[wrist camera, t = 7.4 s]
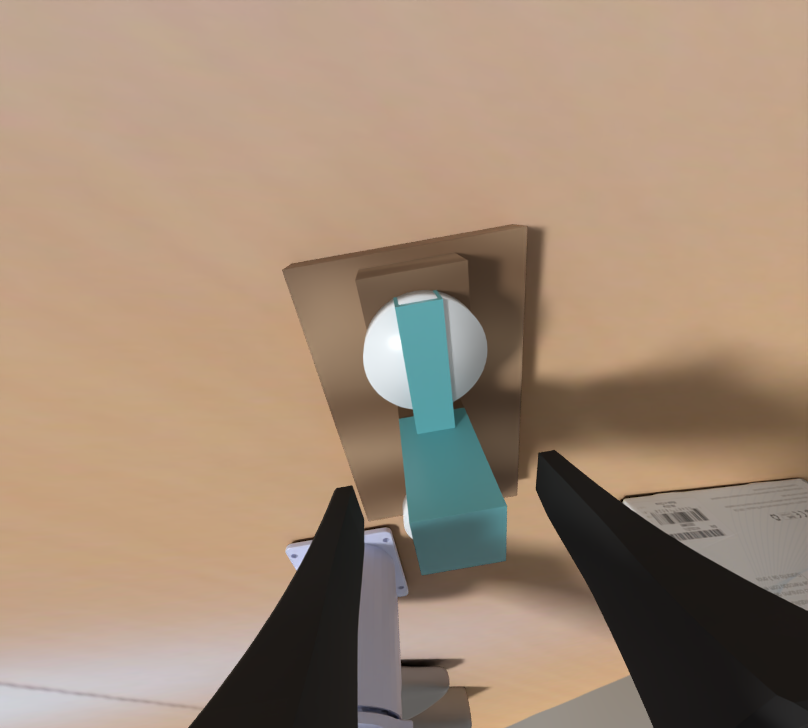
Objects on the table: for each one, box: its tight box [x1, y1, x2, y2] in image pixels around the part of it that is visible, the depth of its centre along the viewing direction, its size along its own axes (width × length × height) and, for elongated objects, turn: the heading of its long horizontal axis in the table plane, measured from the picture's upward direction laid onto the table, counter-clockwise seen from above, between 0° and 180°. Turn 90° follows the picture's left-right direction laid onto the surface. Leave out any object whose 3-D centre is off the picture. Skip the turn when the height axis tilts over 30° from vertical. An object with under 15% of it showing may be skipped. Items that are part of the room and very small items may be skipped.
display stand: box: [282, 224, 527, 521], centre depth 16 cm, size 16×10×4 cm, turn 9°
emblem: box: [401, 666, 472, 728], centre depth 36 cm, size 28×5×28 cm
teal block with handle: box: [363, 290, 507, 575], centre depth 12 cm, size 14×5×5 cm, turn 9°
